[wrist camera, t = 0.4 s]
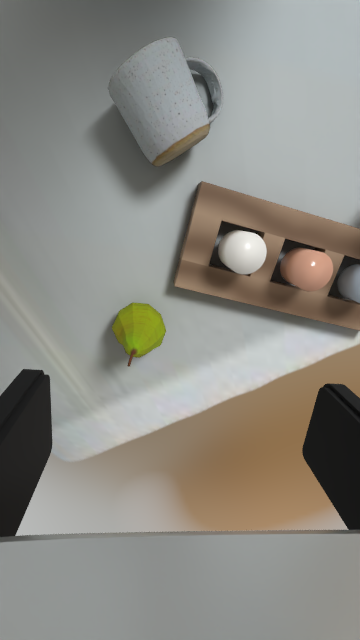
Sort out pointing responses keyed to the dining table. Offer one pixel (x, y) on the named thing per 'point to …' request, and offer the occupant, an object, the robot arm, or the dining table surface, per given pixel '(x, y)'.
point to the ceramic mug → (164, 99)
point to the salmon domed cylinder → (306, 268)
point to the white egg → (242, 251)
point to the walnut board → (273, 230)
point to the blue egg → (350, 282)
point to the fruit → (139, 329)
